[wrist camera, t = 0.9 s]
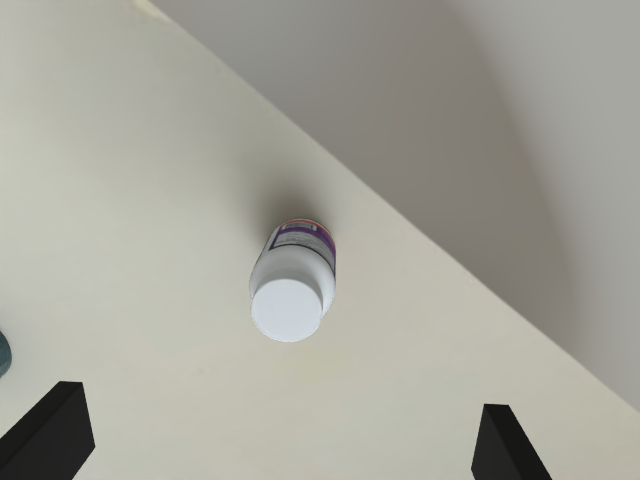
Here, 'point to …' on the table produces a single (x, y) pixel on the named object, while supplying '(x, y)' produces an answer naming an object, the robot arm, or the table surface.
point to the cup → (4, 356)
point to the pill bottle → (293, 280)
